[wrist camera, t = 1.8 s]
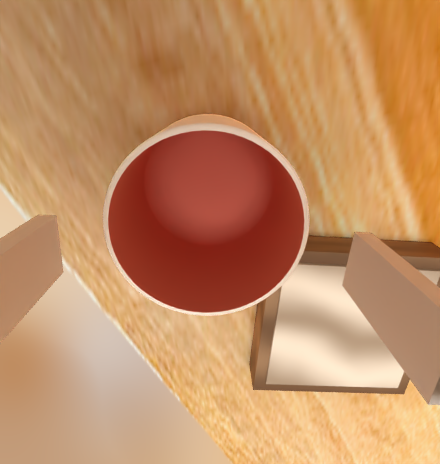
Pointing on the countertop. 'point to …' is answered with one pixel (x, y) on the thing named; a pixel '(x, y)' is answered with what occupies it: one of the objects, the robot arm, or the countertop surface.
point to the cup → (206, 217)
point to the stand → (328, 326)
